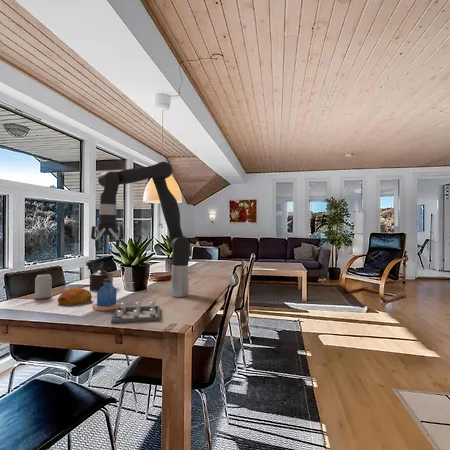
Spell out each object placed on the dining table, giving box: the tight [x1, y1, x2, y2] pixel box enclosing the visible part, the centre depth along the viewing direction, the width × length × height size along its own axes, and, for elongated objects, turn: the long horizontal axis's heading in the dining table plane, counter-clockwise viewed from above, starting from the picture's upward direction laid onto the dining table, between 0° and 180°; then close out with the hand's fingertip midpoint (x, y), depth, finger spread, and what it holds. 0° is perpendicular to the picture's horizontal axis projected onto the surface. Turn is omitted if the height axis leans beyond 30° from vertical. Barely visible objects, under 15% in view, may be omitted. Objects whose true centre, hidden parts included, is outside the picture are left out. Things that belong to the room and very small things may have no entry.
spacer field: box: [110, 301, 161, 324], centre depth 130 cm, size 19×18×4 cm
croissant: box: [56, 287, 93, 306], centre depth 151 cm, size 14×16×8 cm
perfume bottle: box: [96, 279, 117, 307], centre depth 143 cm, size 6×6×12 cm
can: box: [34, 273, 53, 300], centre depth 159 cm, size 8×8×12 cm
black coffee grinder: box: [85, 260, 114, 292], centre depth 180 cm, size 16×11×18 cm
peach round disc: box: [92, 301, 120, 312], centre depth 143 cm, size 12×12×1 cm
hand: (107, 248), depth 143 cm, fingers open, 8 cm apart
